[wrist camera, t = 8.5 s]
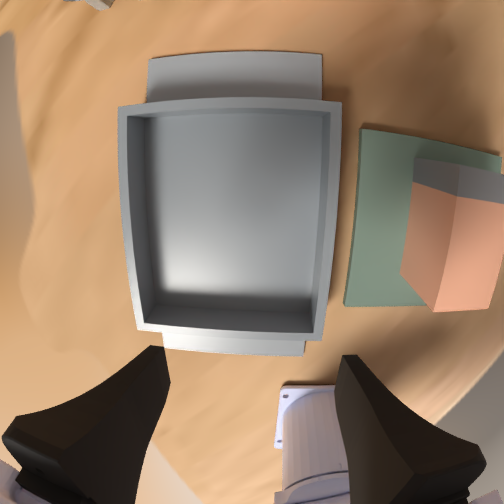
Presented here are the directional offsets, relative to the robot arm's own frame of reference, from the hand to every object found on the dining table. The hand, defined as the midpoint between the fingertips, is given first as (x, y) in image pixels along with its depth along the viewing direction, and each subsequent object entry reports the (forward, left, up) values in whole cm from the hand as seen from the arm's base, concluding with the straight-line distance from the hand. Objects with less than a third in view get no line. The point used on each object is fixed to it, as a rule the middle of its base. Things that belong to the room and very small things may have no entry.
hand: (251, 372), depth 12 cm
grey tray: (+4, +2, -10) cm, 11 cm away
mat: (+4, -12, -10) cm, 16 cm away
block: (+5, -12, -9) cm, 16 cm away
